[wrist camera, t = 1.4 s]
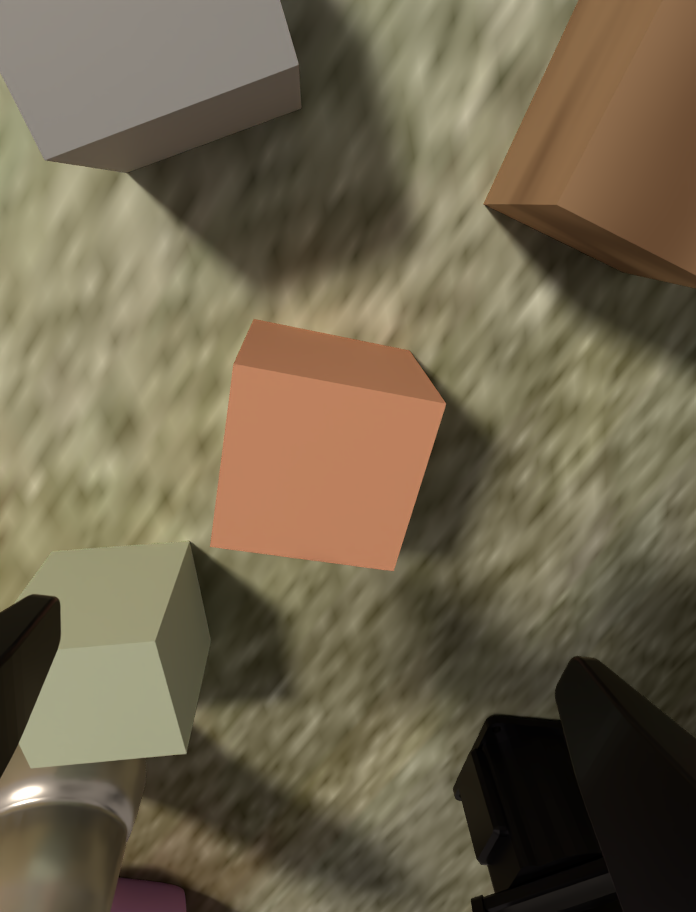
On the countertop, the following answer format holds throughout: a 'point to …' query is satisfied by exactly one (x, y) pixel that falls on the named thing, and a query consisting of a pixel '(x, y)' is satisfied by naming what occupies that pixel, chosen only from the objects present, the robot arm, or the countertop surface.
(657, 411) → the countertop surface
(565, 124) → the walnut block
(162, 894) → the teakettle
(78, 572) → the sage block
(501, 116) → the countertop surface
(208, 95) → the slate block
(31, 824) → the plastic bottle
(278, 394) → the terracotta block
